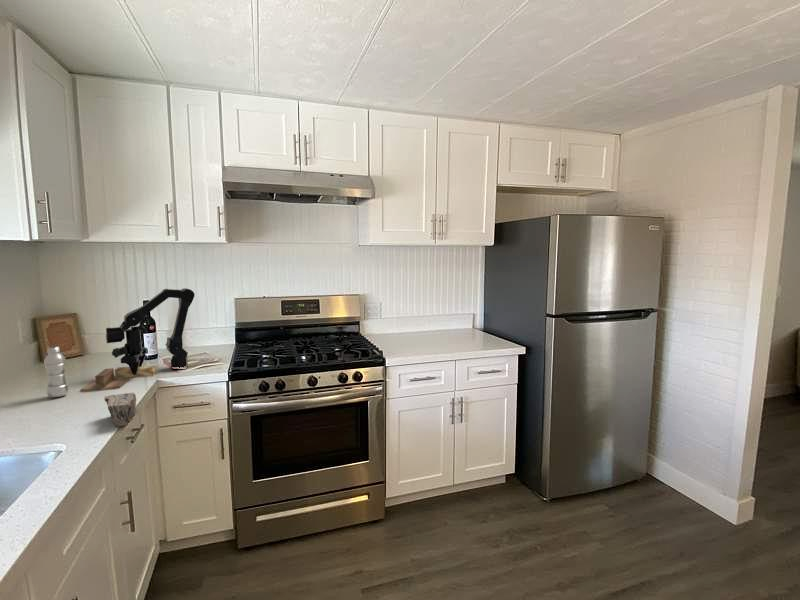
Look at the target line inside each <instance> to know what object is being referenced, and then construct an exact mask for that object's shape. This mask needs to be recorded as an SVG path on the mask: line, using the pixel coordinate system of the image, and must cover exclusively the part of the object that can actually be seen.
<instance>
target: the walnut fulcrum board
mask: <svg viewBox="0 0 800 600" xmlns="http://www.w3.org/2000/svg"><path fill="white" fill-rule="evenodd" d="M94 377H95V380H91V381H90V382H88V383H87V384H85V386H83V387H81V388H80V390H79V391H85V392H92V391H91V390H97V391H103V390H102V389H109V390H117V389H116V388H120V387H121V388H122V387H123V386H124V385H125V384H127V383H128V382H129V380H130V377H120V378H115V369H114V367H113V368H111V367H110V368H104V369H103V370H102V371H101V372H99V373H98V374H96V375H95V376H94ZM121 388H120V389H121Z"/></svg>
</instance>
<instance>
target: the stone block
mask: <svg viewBox="0 0 800 600" xmlns="http://www.w3.org/2000/svg"><path fill="white" fill-rule="evenodd" d="M104 401H105V402H106V404H107V409H108V411H109V414H110V417H111V419H112V421H113V424H114V427H115V428H121V427H126V426H127V425H129V423H130V422H132V420H134V416H136V414H137V407H136V406H137V405H136V403H137V396H136V394H135V392H128V393H119V394H111V395H110V394H109V395H105V396H104Z"/></svg>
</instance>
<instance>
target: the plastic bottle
mask: <svg viewBox="0 0 800 600" xmlns="http://www.w3.org/2000/svg"><path fill="white" fill-rule="evenodd" d="M46 350H47V351H46V353H47V355H46V356H45V358H44V360H43V364H44V368H45V370H46V377H47V386H46V395H47V396H48V397H49V398H60V397H64V396H66V395H67V394H68V393H69V386H68V383H67V379H66V373H65V372H66V361H67V360H66V357H65V356H64V355H63V353H61V349H60V346H58V345H57V346H49V347H47V349H46Z"/></svg>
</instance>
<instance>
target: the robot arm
mask: <svg viewBox="0 0 800 600" xmlns="http://www.w3.org/2000/svg"><path fill="white" fill-rule="evenodd" d="M170 298H174V299H178V308H177V314H176V318H175V321H174V322H175V323H174V326H173V327H174V328H173V331H172V334H171V336H170V337H167V338H166V343H165V347H166V350H167V351H168V352H169V353H170V354H171V355H172V356H171V359H170V368H171V369H172V367H179V368H180V367H184V366H187V364H188V363H189V362H188V351H186V350H185V349H184V348H183V334H184V329H185V325H186V321H187V316H188V311H189V308H190V307H191V305H192V303H193V301H194V298H195V292H194V290H192V289H189V288H187V287H186V288H185V287H184V288H182V289H172V288H171V289H169V288H164V289H162V290H161V291H160V292H159V293H157V295H155V296H153V297H152V298H151V299H150V300H148V301H147V302H145V303H144V304H143V305H142V306H140V307H138V308H136V309H133V310H131V311H129V312H127V313H126V314H125V315H124V316H123V321H122V323H120V325H119V326H118V327H116V326H115V327H106V328H105V342H106V344H112V343H113V344H114V343H122V342H123V341H124V340H126V342H125V343H124V346H121V347H115V348H113V349H112V351H111V356H114V358H115V359H116V358H118V357H120V356H122V357H121V358H120V363H121V364H126V365H128V367H130V369H131V371H132V373H133V375H136V373H137V370H138V367H139V366H143V364H144V361H145V359H146V357H147V354H149V348H147V347H146V346H145V347H142V345H143V343H144V342H143V340H142V337H141V331H144V330H146V328H145V326H143V325H142V324H141V322H142V321H143V320H145V318H146V317H147V315H148V314H149V313H150V312H151V311H154V309H156V308H157V307H159V305H161V304H162V303H164V302H165V301H166V300H168V299H170ZM188 365H189V364H188Z"/></svg>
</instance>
